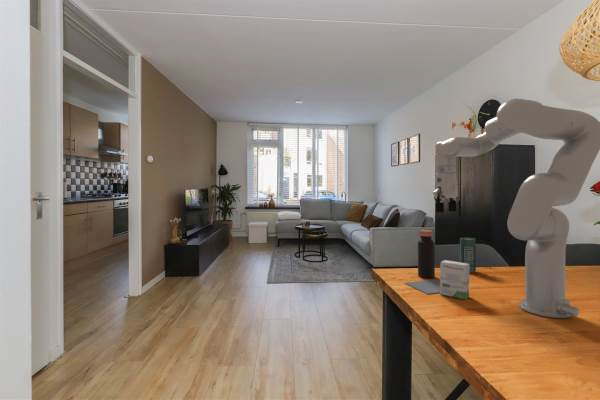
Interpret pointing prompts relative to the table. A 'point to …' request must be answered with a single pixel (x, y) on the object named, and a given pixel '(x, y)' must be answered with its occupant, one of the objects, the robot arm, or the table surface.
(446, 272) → the ink box
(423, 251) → the bottle
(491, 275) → the table surface
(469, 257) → the can
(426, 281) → the mat
